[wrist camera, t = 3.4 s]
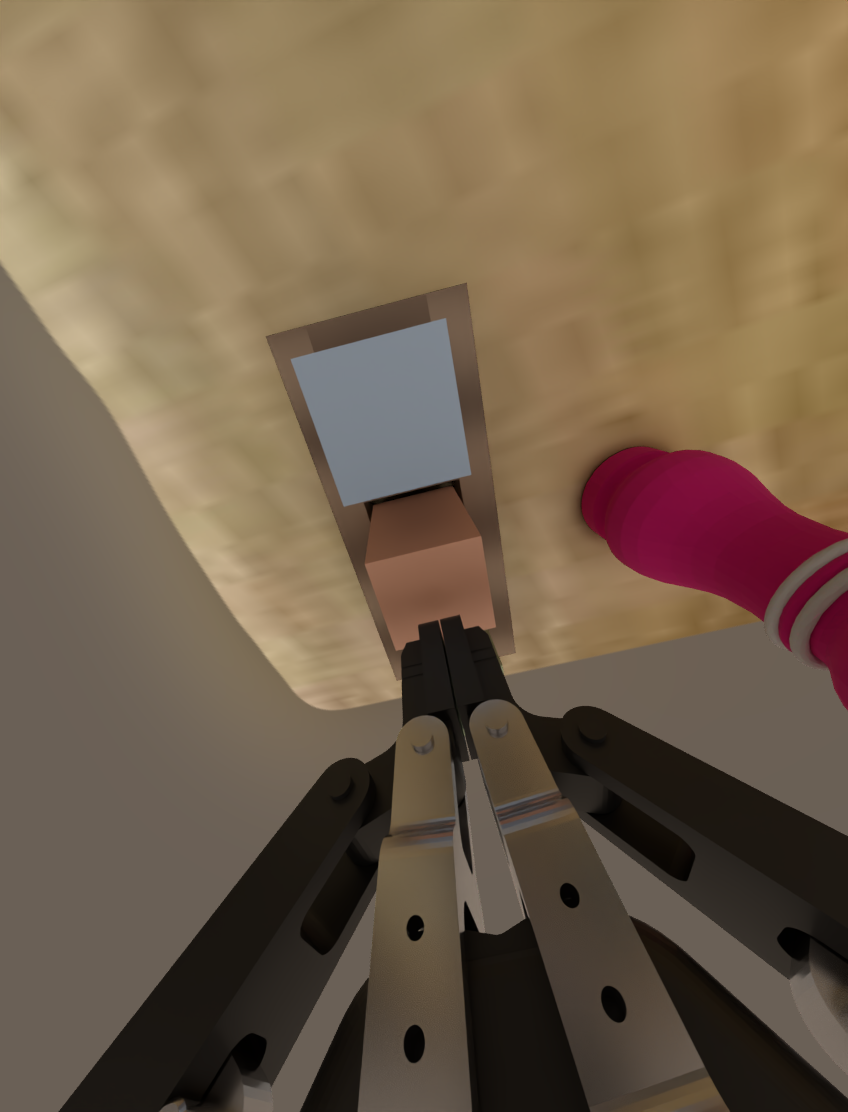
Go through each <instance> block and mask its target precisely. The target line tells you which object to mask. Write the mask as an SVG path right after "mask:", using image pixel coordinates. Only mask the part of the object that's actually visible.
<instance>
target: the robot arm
mask: <svg viewBox="0 0 848 1112" xmlns="http://www.w3.org/2000/svg"><path fill="white" fill-rule="evenodd" d="M440 623H441V628H442V632H441V628H440V624H439V621H438V620H435V621H431V622H427V623H422V624H418V631H419V640H416V641H412V642H407V643H406V645H405V647H404V649H403V651H402V654H401V669H402V670H401V676H402V705H403V726H402V729H401V731H400V732H399V734H398V737H397V740H396V742H395V743H394V744H393V745H392V746H391V747H390V748H389V749H388V750H387V751H386V752H384V753H383V754H381V755H379V756H378V757H376V758H374V759H373V760H371V761H369V762H367V763H366V764H364V763H363V762H362V761H360V760H358V759H355V758H346V759H342V760H339V761H337V762H335V763H334V764H332V765H331V766H330V767H328V769H326V770H325V772H324V773H323V774H322V775H321V776H320V778H319V779H318V780H317V782H316V783H315V784H314V785H313V787H312V788H311V789H310V790H309V792H308V793H307V794H306V796H305V797H304V798H303V800H302V801H301V802H300V803H299V805H298V806H297V807H296V808H295V810H294V811H293V812H292V814H291V815H290V816H289V817H288V819H287V820H286V821H285V822H284V824H283V825H282V827H281V828H280V829H279V830H278V831H277V833H276V834H275V835H274V837H273V838H272V839H271V840H270V842H269V843H268V844H267V846H266V847H265V848H264V849H263V851H262V852H261V853H260V854H259V856H258V857H257V858H256V860H255V861H254V862H253V864H252V865H251V866H250V867H249V869H248V870H247V871H246V873H245V874H244V875H243V876H242V878H241V879H240V880H239V881H238V883H237V884H236V885H235V886H234V888H233V889H232V890H231V892H230V893H229V894H228V895H227V897H226V898H225V899H224V901H223V902H222V903H221V904H220V906H219V907H218V908H217V910H216V911H215V912H214V913H213V915H212V916H211V917H210V919H209V920H208V921H207V923H206V924H205V925H204V926H203V928H202V929H201V930H200V931H199V933H198V934H197V935H196V936H195V938H194V939H193V940H192V942H191V943H190V944H189V945H188V947H187V948H186V949H185V951H184V952H183V953H182V954H181V956H180V957H179V958H178V960H177V961H176V962H175V963H174V965H173V966H172V967H171V968H170V970H169V971H168V972H167V974H166V975H165V976H164V977H163V979H162V980H161V981H160V982H159V984H158V985H157V986H156V988H155V989H154V990H153V991H152V993H151V994H150V995H149V997H148V998H147V999H146V1000H145V1002H144V1003H143V1004H142V1006H141V1007H140V1008H139V1010H138V1011H137V1012H136V1013H135V1015H134V1016H133V1017H132V1018H131V1020H130V1021H129V1022H128V1023H127V1025H126V1026H125V1027H124V1029H123V1030H122V1031H121V1032H120V1034H119V1035H118V1036H117V1038H116V1039H115V1040H114V1041H113V1043H112V1044H111V1045H110V1047H109V1048H108V1049H107V1050H106V1052H105V1053H104V1054H103V1055H102V1057H101V1058H100V1059H99V1061H98V1062H97V1063H96V1064H95V1066H94V1067H93V1068H92V1070H91V1071H90V1072H89V1073H88V1075H87V1076H86V1077H85V1079H84V1080H83V1081H82V1082H81V1084H80V1085H79V1086H78V1087H77V1089H76V1090H75V1091H74V1093H73V1094H72V1095H71V1096H70V1098H69V1099H68V1100H67V1102H66V1103H65V1104H64V1105H63V1107H62V1108H61V1109H60V1111H59V1112H273V1097H272V1091H271V1087H272V1085H273V1083H274V1081H275V1079H276V1077H277V1075H278V1074H279V1072H280V1070H281V1068H282V1066H283V1064H284V1062H285V1060H286V1059H287V1057H288V1055H289V1053H290V1051H291V1049H292V1047H293V1045H294V1043H295V1042H296V1040H297V1038H298V1036H299V1034H300V1032H301V1030H302V1029H303V1026H304V1025H305V1023H306V1021H307V1019H308V1017H309V1015H310V1014H311V1012H312V1010H313V1008H314V1006H315V1004H316V1002H317V1000H318V999H319V997H320V995H321V993H322V991H323V989H324V987H325V985H326V984H327V982H328V980H329V978H330V976H331V974H332V972H333V970H334V969H335V967H336V965H337V963H338V961H339V959H340V957H341V955H342V954H343V952H344V950H345V948H346V946H347V944H348V942H349V940H350V939H351V937H352V935H353V933H354V931H355V929H356V927H357V925H358V923H359V922H360V920H361V918H362V916H363V914H364V912H365V910H366V909H367V907H368V905H369V903H370V901H371V899H372V897H373V896H374V894H375V892H376V902H375V913H374V925H373V937H372V949H371V960H370V972H369V978H368V979H367V980H366V981H365V983H364V984H363V986H362V987H361V988H360V990H359V991H358V993H357V994H356V996H355V997H354V999H353V1001H352V1002H351V1004H350V1006H349V1008H348V1009H347V1011H346V1013H345V1015H344V1017H343V1019H342V1021H341V1023H340V1025H339V1027H338V1030H337V1032H336V1034H335V1036H334V1039H333V1041H332V1043H331V1045H330V1047H329V1049H328V1052H327V1054H326V1056H325V1058H324V1060H323V1062H322V1065H321V1067H320V1069H319V1071H318V1073H317V1076H316V1078H315V1080H314V1082H313V1084H312V1086H311V1089H310V1091H309V1093H308V1095H307V1097H306V1100H305V1102H304V1104H303V1106H302V1108H301V1111H300V1112H848V1098H847V1097H845V1096H844V1095H843V1094H842V1093H841V1092H840V1091H839V1090H838V1089H837V1088H836V1087H834V1086H833V1085H832V1084H831V1083H830V1082H829V1081H828V1080H827V1079H826V1078H824V1077H823V1076H822V1075H821V1074H820V1073H819V1072H818V1071H817V1070H816V1069H814V1068H813V1067H812V1066H811V1065H810V1064H809V1063H808V1062H807V1061H806V1060H805V1059H803V1058H802V1057H801V1056H800V1055H799V1054H798V1053H797V1052H796V1051H795V1050H794V1049H792V1048H791V1047H790V1046H789V1045H788V1044H787V1043H786V1042H785V1041H784V1040H782V1039H781V1038H780V1037H779V1036H778V1035H777V1034H776V1033H775V1032H774V1031H773V1030H771V1029H770V1028H769V1027H768V1026H767V1025H766V1024H765V1023H764V1022H762V1021H761V1020H760V1019H759V1018H758V1017H757V1016H756V1015H755V1014H754V1013H752V1011H750V1010H749V1009H748V1008H747V1007H746V1006H745V1005H744V1004H743V1003H741V1002H740V1001H739V1000H738V999H737V998H736V997H735V996H734V995H733V994H732V993H731V992H729V991H728V990H727V989H726V988H725V987H724V986H723V985H722V984H721V983H719V982H718V981H717V980H716V979H715V978H714V977H713V976H712V975H711V974H709V973H708V972H707V971H706V970H705V969H704V968H703V967H702V966H701V965H700V964H698V963H697V962H696V961H695V960H694V959H693V958H692V957H691V956H690V955H688V954H687V953H686V952H685V951H684V950H683V949H682V948H680V947H679V946H678V945H677V944H676V943H674V942H673V941H671V940H670V939H669V938H667V937H666V936H665V935H664V934H662V933H661V932H659V931H658V930H656V929H654V928H653V927H651V926H649V925H648V924H646V923H644V922H642V921H640V920H638V919H636V918H633V917H632V916H629V915H628V913H627V911H626V909H625V907H624V905H623V903H622V901H621V899H620V897H619V895H618V893H617V891H616V889H615V887H614V885H613V883H612V881H611V879H610V877H609V875H608V873H607V871H606V869H605V867H604V865H603V864H602V862H601V859H600V857H599V855H598V853H597V851H596V849H595V847H594V845H593V843H592V842H591V839H590V837H589V835H588V834H587V832H586V829H585V827H584V826H583V824H582V822H581V820H580V819H582V820H583V821H584V822H586V823H587V824H588V825H590V826H591V827H592V828H594V829H595V830H596V831H598V832H599V833H600V834H601V835H602V836H604V837H605V838H606V839H608V840H609V841H610V842H612V843H613V844H614V845H615V846H617V847H618V848H619V849H621V850H622V851H623V852H624V853H626V854H627V855H628V856H630V857H631V858H632V859H634V860H635V861H636V862H637V863H639V864H640V865H641V866H643V867H644V868H645V869H647V870H648V871H649V872H650V873H652V874H653V875H654V876H655V877H657V878H658V879H659V880H661V881H662V882H663V883H665V884H666V885H667V886H668V887H670V888H671V889H672V890H674V891H675V892H676V893H677V894H679V895H680V896H681V897H683V898H684V899H685V900H687V901H688V902H689V903H690V904H692V905H693V906H694V907H696V908H697V909H698V910H700V911H701V912H702V913H703V914H705V915H706V916H707V917H709V918H710V919H711V920H712V921H714V922H715V923H716V924H718V925H719V926H720V927H721V928H723V929H724V930H725V931H727V932H728V933H729V934H731V935H732V936H733V937H734V938H736V939H737V940H738V941H740V942H741V943H742V944H744V945H745V946H746V947H747V948H749V949H750V950H751V951H753V952H754V953H755V954H756V955H758V956H759V957H760V958H762V959H763V960H764V961H765V962H767V963H768V964H769V965H771V966H772V967H773V968H775V969H776V970H777V971H778V972H780V973H781V974H782V975H784V976H785V977H787V979H789V980H790V986H791V991H792V994H793V998H794V1001H795V1003H796V1006H797V1008H798V1010H799V1013H800V1015H801V1016H802V1018H803V1020H804V1022H805V1024H806V1026H807V1027H808V1029H809V1030H810V1032H811V1033H812V1035H813V1036H814V1038H815V1039H816V1040H817V1042H818V1043H819V1044H820V1046H821V1047H822V1048H823V1050H824V1051H825V1052H826V1053H827V1054H828V1055H829V1057H830V1058H831V1059H832V1060H833V1061H834V1062H835V1063H836V1064H837V1065H838V1066H839V1067H840V1068H841V1069H842V1070H843V1071H844V1072H845V1073H846V1074H847V1075H848V836H846V835H844V834H842V833H840V832H838V831H836V830H835V829H833V828H831V827H828V826H827V825H825V824H823V823H821V822H819V821H817V820H815V819H813V818H811V817H809V816H807V815H805V814H804V813H802V812H800V811H798V810H796V809H794V808H792V807H790V806H788V805H786V804H784V803H782V802H780V801H778V800H777V799H774V798H773V797H770V796H769V795H767V794H765V793H763V792H761V791H759V790H757V789H755V788H753V787H751V786H749V785H747V784H746V783H744V782H741V781H740V780H738V779H736V778H734V777H732V776H730V775H728V774H726V773H724V772H722V771H720V770H718V769H716V768H715V767H712V766H711V765H709V764H707V763H704V762H703V761H701V760H699V759H697V758H695V757H693V756H691V755H689V754H687V753H686V752H684V751H682V750H680V749H678V748H676V747H674V746H672V745H670V744H668V743H666V742H664V741H662V740H660V739H658V738H656V737H655V736H653V735H651V734H649V733H647V732H645V731H643V730H641V729H639V728H637V727H635V726H633V725H631V724H629V723H627V722H626V721H624V720H622V719H620V718H618V717H616V716H614V715H612V714H610V713H608V712H606V711H604V710H602V709H599V708H596V707H591V706H580V707H576V708H573V709H571V710H569V711H568V712H567V713H566V714H565V715H564V716H563V718H551V717H541V716H536V715H533V714H531V713H528V712H527V711H525V710H523V709H522V708H521V707H519V706H518V704H517V703H516V702H515V701H514V699H513V697H512V695H511V692H510V690H509V687H508V685H507V682H506V679H505V677H504V674H503V672H502V669H501V666H500V664H499V661H498V658H497V656H496V653H495V651H494V649H493V645H492V643H491V640H490V638H489V635H488V634H487V633H486V632H485V631H484V630H483V629H482V628H481V627H479V626H475V627H471V628H466V629H464V627H463V624H462V620H461V617H460V615H456V616H452V617H447V618H443V619H440ZM442 633H443V636H442ZM443 638H444V640H443ZM463 729H464V731H463ZM464 733H465V736H464ZM465 737H466V740H467V744H468V748H469V751H470V755H471V759H472V760H473V759H477V758H478V762H479V766H480V770H481V774H482V778H483V781H484V785H485V789H486V792H487V796H488V799H489V803H490V806H491V809H492V813H493V815H494V819H495V822H496V826H497V829H498V832H499V835H500V839H501V842H502V846H503V849H504V852H505V855H506V859H507V862H508V865H509V869H510V872H511V875H512V879H513V882H514V886H515V890H516V893H517V896H518V900H519V903H520V907H521V910H522V913H523V917H524V920H523V921H521V922H520V923H518V924H516V925H515V926H513V927H512V928H510V929H509V930H507V931H506V932H504V933H502V934H499V935H492V934H487V933H485V929H484V921H483V914H482V908H481V901H480V896H479V891H478V886H477V879H476V872H475V863H474V854H473V845H472V837H471V828H470V819H469V811H468V810H469V809H468V801H467V792H466V781H465V776H464V770H463V765H462V762H465V761H469V756H468V751H467V747H466V741H465Z"/></svg>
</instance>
